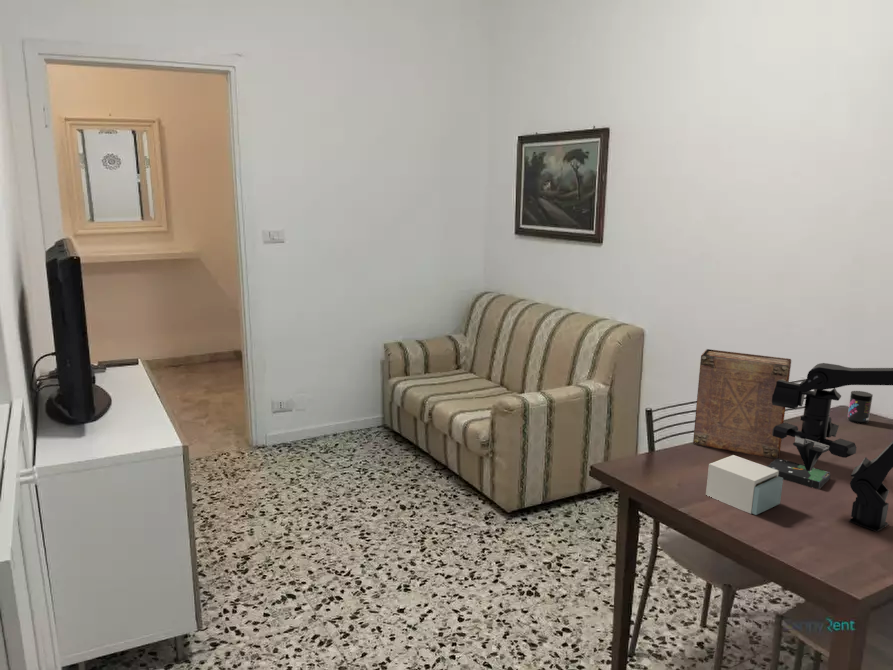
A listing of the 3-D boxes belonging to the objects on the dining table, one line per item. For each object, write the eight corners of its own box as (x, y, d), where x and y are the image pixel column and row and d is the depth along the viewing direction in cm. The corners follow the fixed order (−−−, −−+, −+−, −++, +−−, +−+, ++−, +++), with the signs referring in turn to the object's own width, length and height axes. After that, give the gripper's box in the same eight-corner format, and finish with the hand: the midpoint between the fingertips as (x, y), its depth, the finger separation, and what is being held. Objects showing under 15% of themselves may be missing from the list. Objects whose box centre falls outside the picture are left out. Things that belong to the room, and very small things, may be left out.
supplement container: (850, 416, 250) (854, 389, 248) (870, 421, 246) (875, 393, 243) (844, 420, 246) (848, 393, 244) (865, 425, 241) (869, 397, 239)
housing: (774, 502, 180) (778, 470, 178) (750, 513, 173) (754, 481, 171) (729, 485, 190) (733, 454, 188) (705, 495, 184) (708, 463, 182)
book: (780, 450, 216) (792, 359, 210) (778, 460, 209) (790, 365, 202) (697, 435, 229) (705, 348, 222) (692, 444, 221) (701, 354, 214)
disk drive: (763, 476, 198) (819, 491, 188) (764, 467, 198) (820, 481, 188) (775, 466, 206) (830, 480, 196) (776, 457, 205) (831, 470, 195)
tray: (780, 503, 179) (783, 478, 177) (756, 514, 172) (759, 488, 171) (733, 485, 189) (736, 461, 188) (709, 495, 183) (712, 470, 181)
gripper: (870, 417, 170) (861, 475, 173) (796, 398, 184) (789, 452, 188) (849, 425, 163) (840, 486, 167) (774, 405, 178) (767, 461, 181)
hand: (808, 470), depth 176 cm, fingers closed
